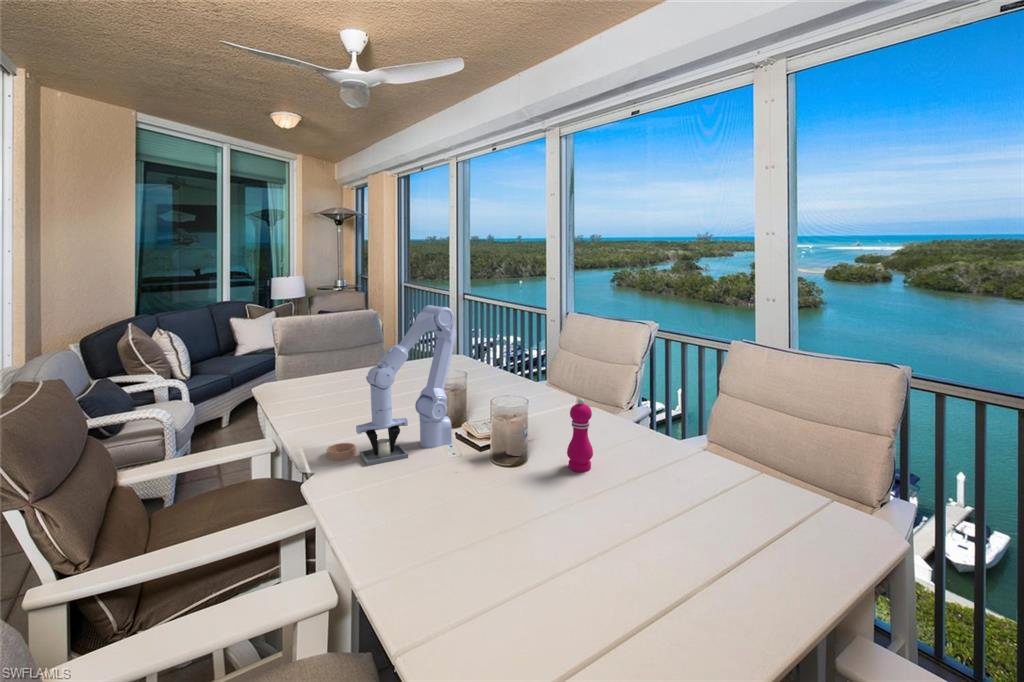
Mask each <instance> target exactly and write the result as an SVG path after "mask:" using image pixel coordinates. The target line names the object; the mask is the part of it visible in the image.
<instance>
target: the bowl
mask: <svg viewBox="0 0 1024 682" xmlns="http://www.w3.org/2000/svg"><path fill="white" fill-rule="evenodd" d="M356 455H357V446H356V444H355V443H351V442H340V443H334V444H332V445H330V446H328V447H327V448H326V457H327V459H328V460H331V461H344V460H348V459H351V458H354V457H355V456H356Z"/></svg>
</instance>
